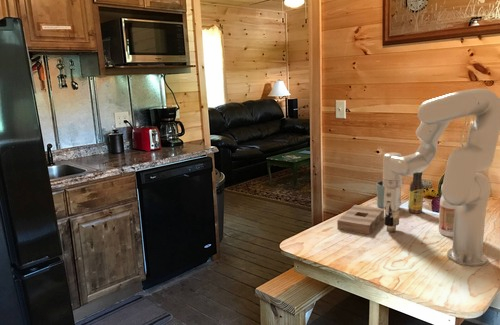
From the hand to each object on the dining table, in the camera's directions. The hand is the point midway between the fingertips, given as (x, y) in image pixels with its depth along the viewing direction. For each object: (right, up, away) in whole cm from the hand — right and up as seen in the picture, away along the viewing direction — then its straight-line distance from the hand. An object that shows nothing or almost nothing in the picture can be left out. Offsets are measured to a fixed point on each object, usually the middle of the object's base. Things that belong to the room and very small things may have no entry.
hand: (391, 222), depth 169 cm
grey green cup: (+8, +4, +30) cm, 31 cm away
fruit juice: (+23, -4, -5) cm, 24 cm away
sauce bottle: (+19, +2, +20) cm, 28 cm away
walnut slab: (-10, -2, +11) cm, 15 cm away
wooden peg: (0, -4, +1) cm, 4 cm away
